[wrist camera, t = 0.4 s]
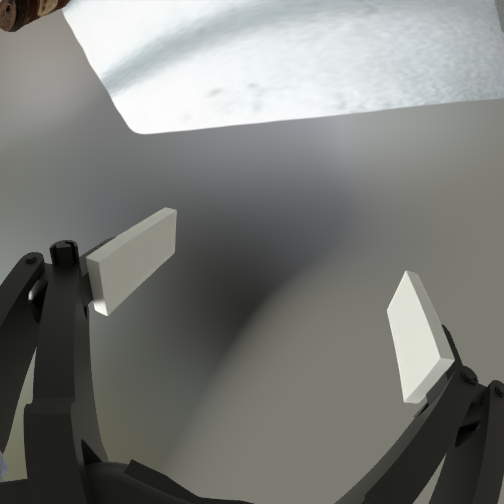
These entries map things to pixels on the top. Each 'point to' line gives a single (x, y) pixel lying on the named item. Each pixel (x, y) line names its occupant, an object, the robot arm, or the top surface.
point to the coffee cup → (25, 12)
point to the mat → (500, 12)
